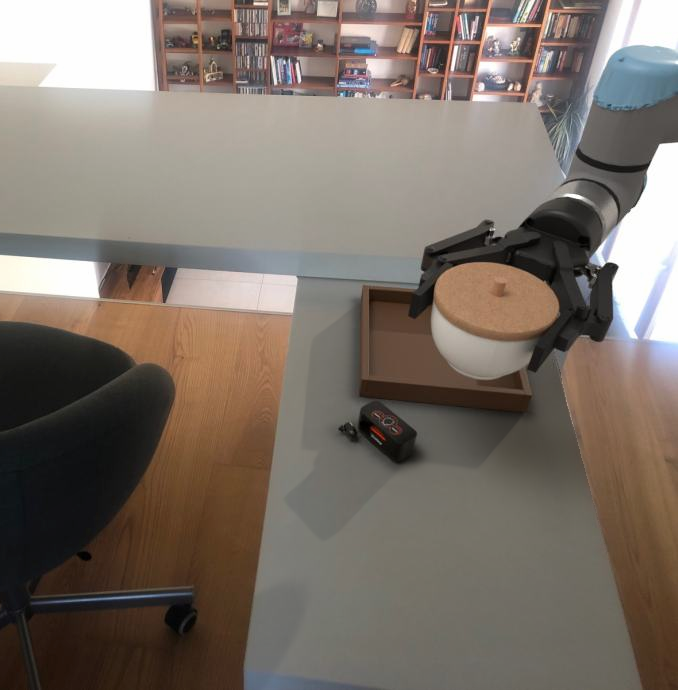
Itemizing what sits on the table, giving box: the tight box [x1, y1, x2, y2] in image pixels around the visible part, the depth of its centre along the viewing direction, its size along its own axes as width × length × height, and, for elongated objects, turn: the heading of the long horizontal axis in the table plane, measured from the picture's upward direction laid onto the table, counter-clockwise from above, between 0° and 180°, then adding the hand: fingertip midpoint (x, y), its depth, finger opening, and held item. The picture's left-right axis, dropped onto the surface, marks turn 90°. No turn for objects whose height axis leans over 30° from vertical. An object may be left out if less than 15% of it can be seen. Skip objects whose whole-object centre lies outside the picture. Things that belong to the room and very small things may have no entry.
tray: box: [358, 284, 533, 414], centre depth 86 cm, size 19×19×3 cm
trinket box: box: [431, 262, 560, 380], centre depth 64 cm, size 11×11×9 cm
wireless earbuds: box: [338, 399, 418, 463], centre depth 74 cm, size 5×7×3 cm, turn 35°
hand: (471, 331), depth 61 cm, fingers closed on trinket box, 11 cm apart
